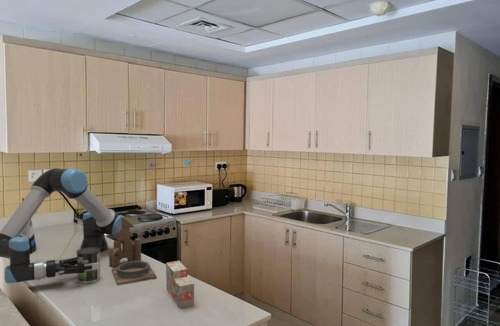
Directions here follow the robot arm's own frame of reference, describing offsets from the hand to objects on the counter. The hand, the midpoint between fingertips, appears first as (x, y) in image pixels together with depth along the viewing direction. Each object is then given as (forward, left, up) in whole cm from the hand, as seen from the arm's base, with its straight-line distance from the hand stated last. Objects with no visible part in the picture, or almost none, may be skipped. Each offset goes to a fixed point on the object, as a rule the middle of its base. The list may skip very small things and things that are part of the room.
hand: (98, 261), depth 177 cm
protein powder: (-67, -34, -8) cm, 76 cm away
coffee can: (0, -4, -8) cm, 9 cm away
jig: (+3, +16, -8) cm, 18 cm away
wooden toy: (-15, +15, -8) cm, 23 cm away
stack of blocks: (+37, +29, -8) cm, 48 cm away
